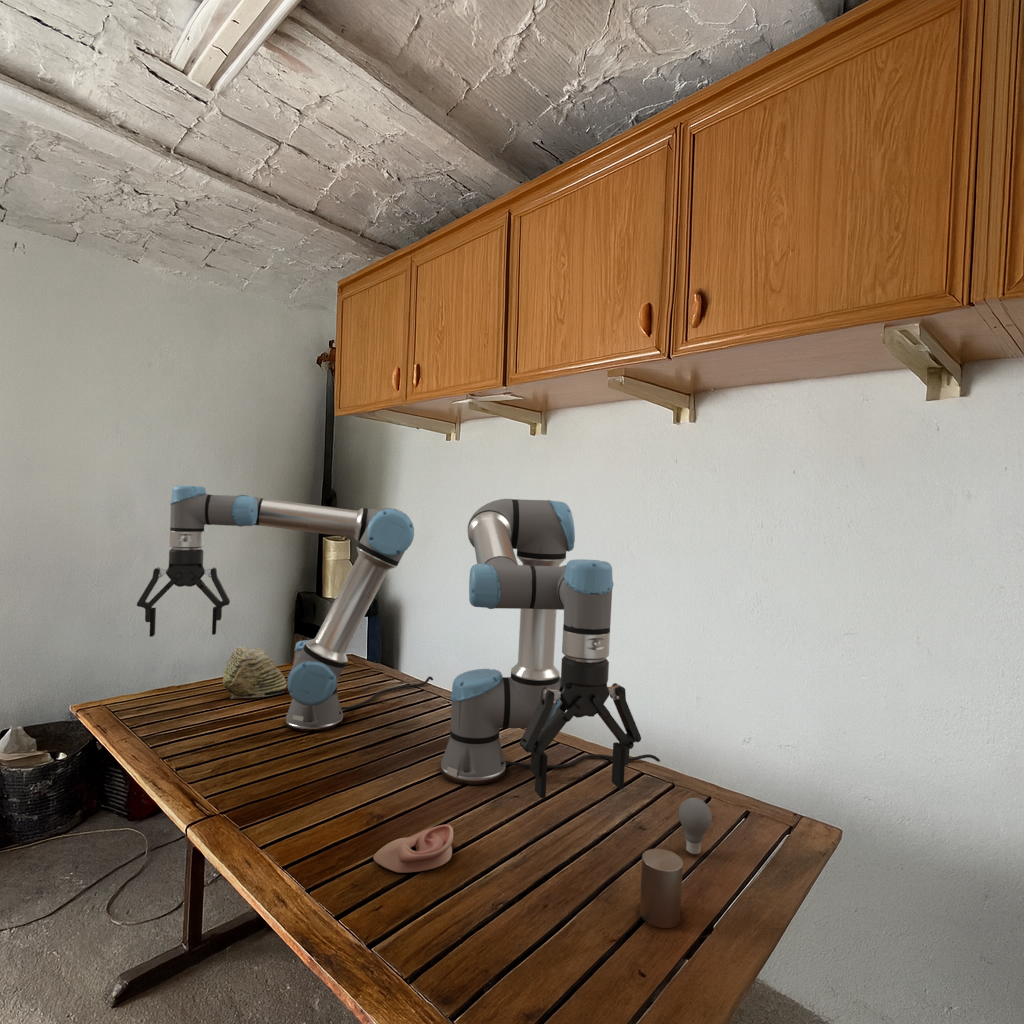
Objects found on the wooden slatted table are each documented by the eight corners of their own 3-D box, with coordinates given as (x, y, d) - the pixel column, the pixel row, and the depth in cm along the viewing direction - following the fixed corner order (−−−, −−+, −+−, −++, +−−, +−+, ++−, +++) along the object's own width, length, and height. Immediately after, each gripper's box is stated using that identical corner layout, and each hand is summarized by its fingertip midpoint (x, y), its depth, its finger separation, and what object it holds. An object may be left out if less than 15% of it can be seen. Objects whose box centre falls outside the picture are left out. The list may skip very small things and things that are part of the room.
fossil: (218, 695, 195) (220, 647, 195) (278, 685, 208) (279, 640, 207) (228, 703, 189) (230, 653, 188) (289, 692, 201) (290, 645, 201)
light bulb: (672, 843, 121) (674, 791, 121) (702, 843, 121) (705, 792, 121) (683, 861, 115) (685, 807, 115) (715, 861, 115) (717, 807, 115)
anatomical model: (366, 844, 109) (392, 812, 120) (365, 867, 109) (391, 833, 120) (440, 856, 106) (459, 823, 117) (439, 880, 106) (458, 844, 117)
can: (648, 930, 96) (651, 872, 96) (633, 904, 102) (636, 849, 102) (686, 926, 97) (689, 869, 97) (669, 901, 103) (672, 847, 103)
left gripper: (124, 549, 147) (121, 639, 148) (241, 550, 156) (238, 635, 157) (131, 546, 154) (128, 632, 155) (242, 547, 163) (239, 629, 164)
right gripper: (519, 666, 93) (513, 809, 94) (666, 659, 102) (660, 791, 102) (503, 654, 101) (498, 787, 101) (641, 649, 109) (636, 772, 109)
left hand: (183, 634), depth 156 cm, fingers open, 13 cm apart
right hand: (579, 789), depth 101 cm, fingers open, 13 cm apart
